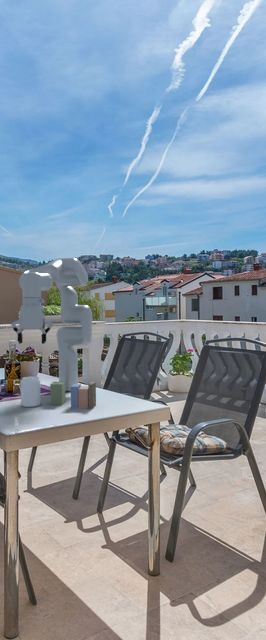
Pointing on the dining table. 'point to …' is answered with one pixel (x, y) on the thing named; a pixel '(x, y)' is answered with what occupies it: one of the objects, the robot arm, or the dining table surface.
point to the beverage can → (30, 391)
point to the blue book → (74, 395)
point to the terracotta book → (83, 397)
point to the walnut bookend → (92, 394)
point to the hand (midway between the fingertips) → (32, 343)
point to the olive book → (57, 393)
